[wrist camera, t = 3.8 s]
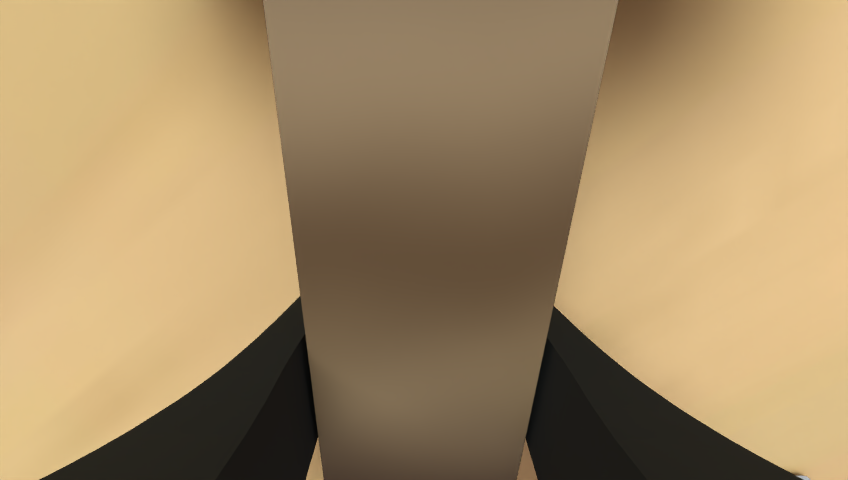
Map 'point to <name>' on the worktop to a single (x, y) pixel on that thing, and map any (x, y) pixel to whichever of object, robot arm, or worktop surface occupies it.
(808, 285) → the worktop surface
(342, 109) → the brown wooden bar
